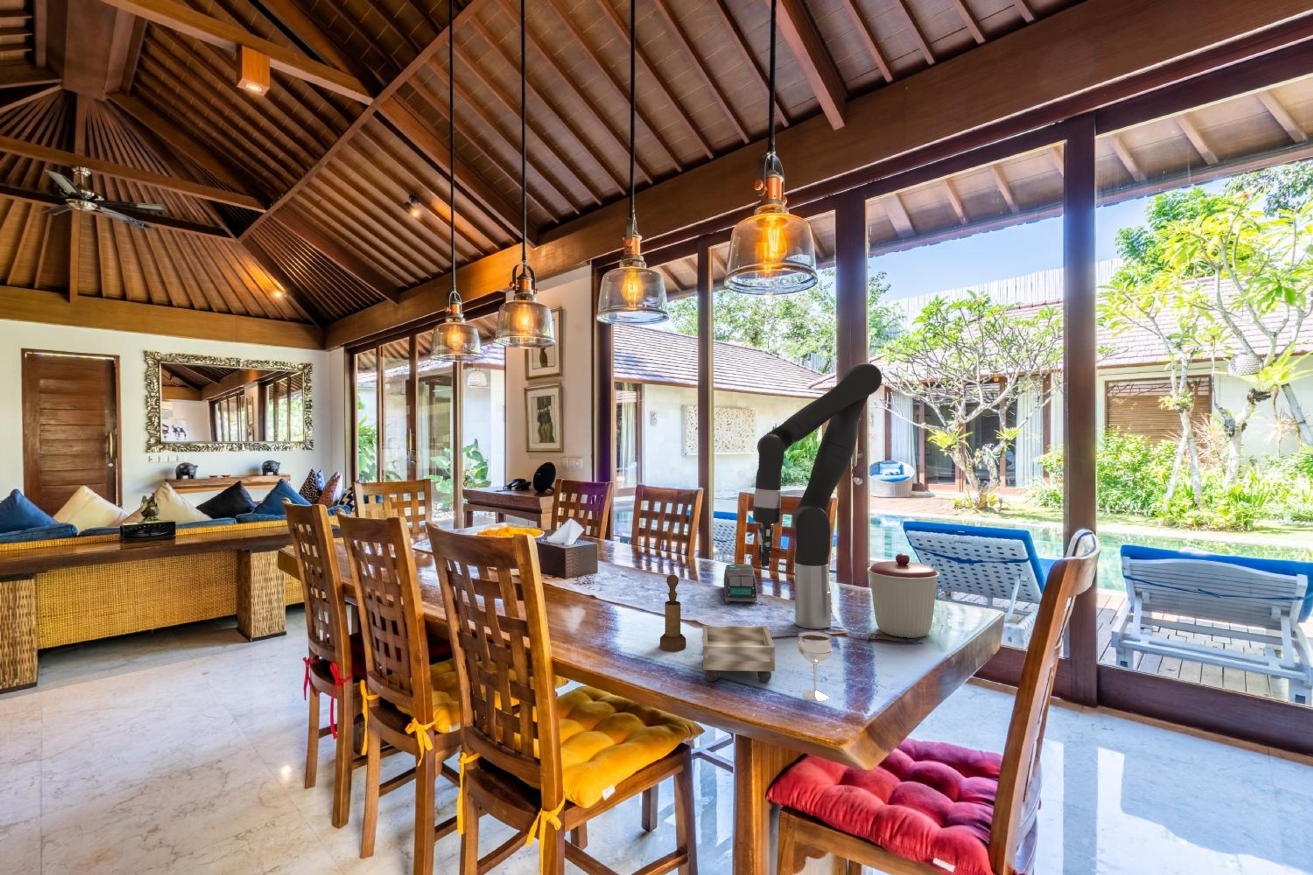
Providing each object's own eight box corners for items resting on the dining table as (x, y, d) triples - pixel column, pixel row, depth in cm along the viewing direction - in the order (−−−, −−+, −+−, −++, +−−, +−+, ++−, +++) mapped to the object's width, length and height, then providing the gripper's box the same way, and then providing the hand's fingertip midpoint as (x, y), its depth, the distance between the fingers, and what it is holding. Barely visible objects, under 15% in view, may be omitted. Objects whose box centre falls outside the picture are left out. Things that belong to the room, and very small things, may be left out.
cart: (767, 660, 145) (767, 626, 145) (775, 685, 130) (774, 647, 130) (703, 659, 146) (702, 625, 146) (703, 684, 131) (702, 646, 131)
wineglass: (795, 699, 123) (795, 638, 123) (800, 686, 129) (800, 629, 129) (831, 704, 120) (830, 642, 120) (834, 691, 127) (833, 632, 127)
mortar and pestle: (677, 653, 150) (676, 578, 150) (654, 648, 154) (654, 576, 154) (690, 645, 156) (690, 573, 156) (668, 641, 159) (668, 571, 159)
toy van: (754, 587, 218) (753, 559, 218) (758, 606, 193) (758, 574, 193) (723, 587, 219) (723, 559, 219) (724, 605, 194) (723, 573, 195)
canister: (863, 621, 176) (863, 547, 176) (931, 624, 172) (930, 548, 173) (872, 641, 158) (871, 558, 159) (948, 645, 155) (947, 560, 155)
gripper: (783, 508, 167) (780, 569, 167) (777, 503, 181) (773, 559, 181) (755, 506, 167) (752, 566, 167) (751, 501, 181) (748, 557, 181)
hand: (763, 562), depth 174 cm, fingers open, 8 cm apart
